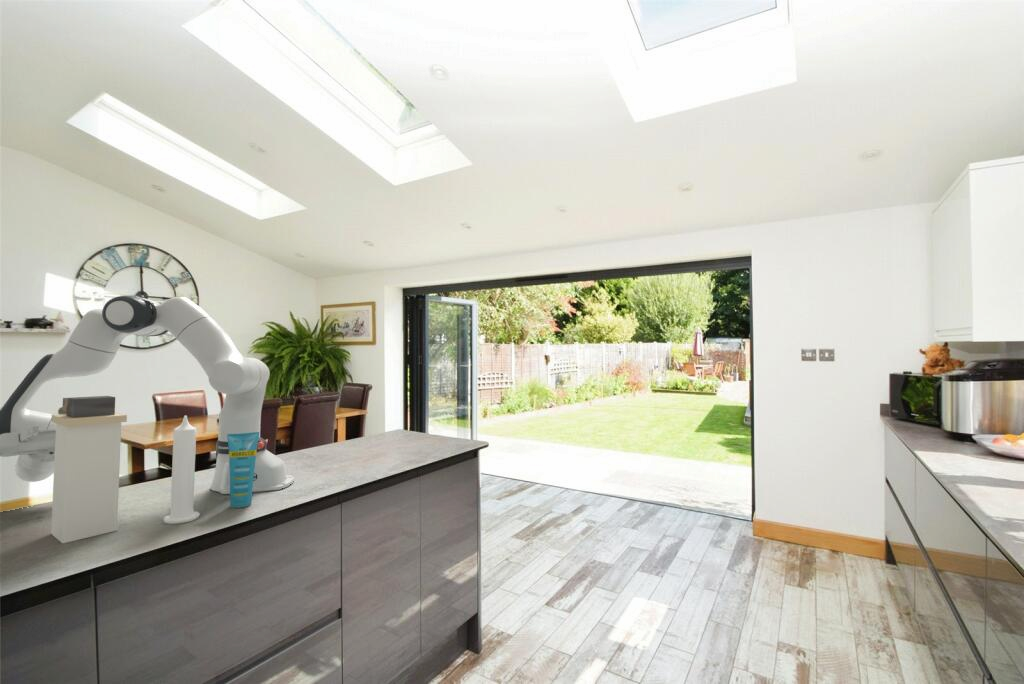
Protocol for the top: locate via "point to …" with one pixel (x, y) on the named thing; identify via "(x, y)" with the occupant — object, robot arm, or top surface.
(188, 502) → the candle
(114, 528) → the shelf post
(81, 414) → the mallet
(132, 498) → the top surface
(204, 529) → the top surface
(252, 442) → the tube
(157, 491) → the top surface
